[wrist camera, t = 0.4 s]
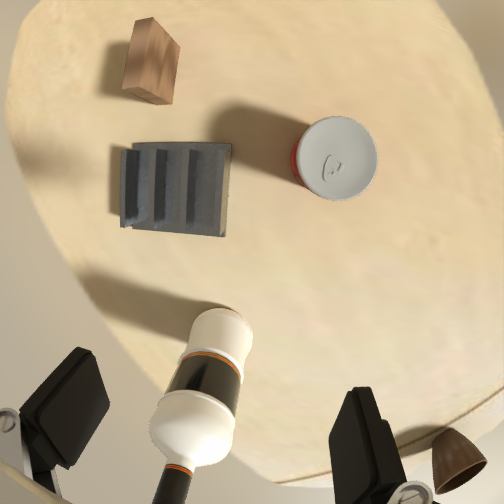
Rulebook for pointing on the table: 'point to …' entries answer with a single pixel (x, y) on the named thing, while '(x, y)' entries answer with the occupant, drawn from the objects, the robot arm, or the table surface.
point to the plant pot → (454, 461)
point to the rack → (175, 187)
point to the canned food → (335, 158)
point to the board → (151, 63)
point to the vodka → (200, 401)
